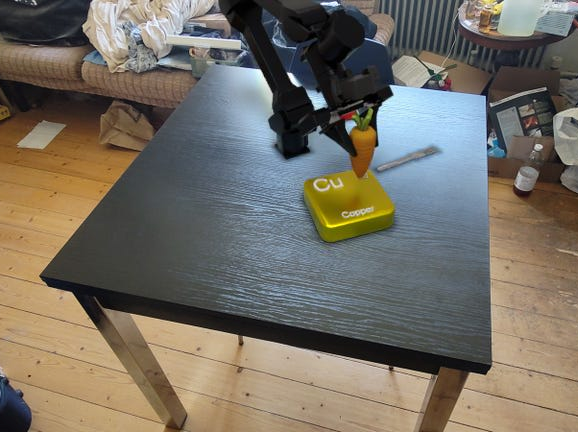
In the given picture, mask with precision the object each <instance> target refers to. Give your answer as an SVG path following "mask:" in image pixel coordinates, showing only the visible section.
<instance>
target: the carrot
mask: <svg viewBox="0 0 578 432" xmlns="http://www.w3.org/2000/svg"><path fill="white" fill-rule="evenodd" d="M356 111H357V110H356ZM356 111H354V114H355V115H353V116H352V119H351V120H353V121H354V123H355V125H354V126H353V127H352V128H351V130H350V131H349V132H348V134H349V136H350V138H351V140H352V143H353V145H354V147H355V149H356V152H357V155H358V156H357V157H355V158H353V157H352V156H351V155H350V154H349V153H348V154H349V160H350V166H351V168H352V170H354V172H355V174H356V176H357V177H358V178H359V179H361V178H362V177H363V176H364V175H365V173H366V172H367V170H368V169H369V168H370V166H371V164H372V160H373V157H374V154H375V149H376V148H375V142H376V132H375V131H374V129H373V128H372V127H371V126H368V124H369V121H370V120H371V116H372V113H373V110H372V109H371V108H369V110H368V114H367V116H366V117H365V119H364V120H363V118H361V122H360V118H359V113H358V111H357V112H356Z"/></svg>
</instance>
